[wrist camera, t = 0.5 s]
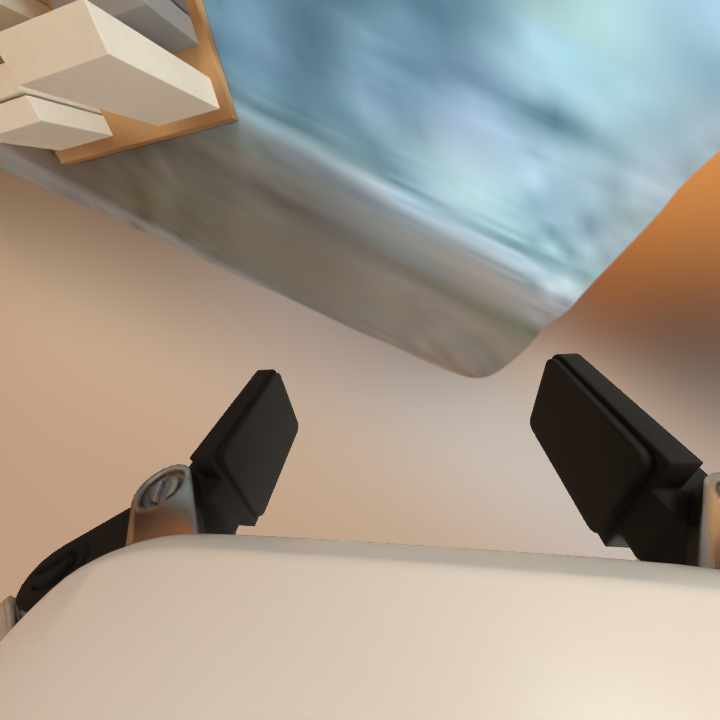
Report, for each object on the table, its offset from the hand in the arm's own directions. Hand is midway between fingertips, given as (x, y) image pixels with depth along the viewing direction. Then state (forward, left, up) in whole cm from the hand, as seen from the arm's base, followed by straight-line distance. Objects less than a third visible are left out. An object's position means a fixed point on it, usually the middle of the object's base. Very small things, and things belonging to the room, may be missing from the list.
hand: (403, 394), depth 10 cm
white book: (-18, -22, -29) cm, 40 cm away
